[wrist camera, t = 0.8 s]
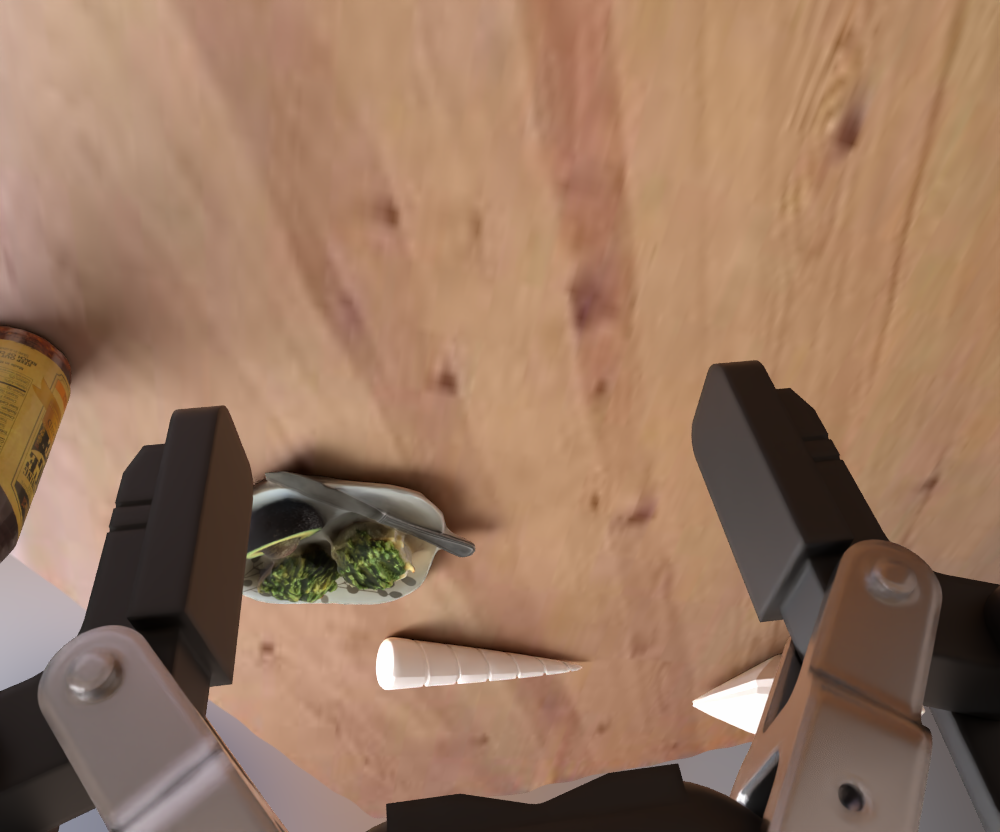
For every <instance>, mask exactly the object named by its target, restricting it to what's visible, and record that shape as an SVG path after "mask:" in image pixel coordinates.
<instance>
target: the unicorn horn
mask: <svg viewBox="0 0 1000 832" xmlns="http://www.w3.org/2000/svg"><path fill="white" fill-rule="evenodd" d="M582 668H583V667H582V666H580V665H577V664H573V663H569V662H564V661H558V660H553V659H548V658H542V657H535V656H528V655H522V654H516V653H509V652H502V651H495V650H487V649H480V648H472V647H465V646H457V645H450V644H442V643H434V642H426V641H418V640H410V639H404V638H397V637H390V638H387V639H385V640H384V641H383V642H382V644H381V645H380V648H379V650H378V655H377V662H376V672H377V679H378V682H379V685H380V686H381V687H382V688H383V689H385V690H393V689H404V688H415V687H422V686H423V684H425V686H438V685H451V684H455V682H456V681H457V682H458V684H462V683H474V682H485V681H486V679H489V681H496V680H507V679H515V678H516V676H518V677H519V678H526V677H534V676H543V673H546V675H551V674H559V673H565V672H569V671H570V670H571V671H576V670H580V669H582Z"/></svg>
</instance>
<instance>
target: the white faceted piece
mask: <svg viewBox="0 0 1000 832" xmlns="http://www.w3.org/2000/svg"><path fill="white" fill-rule="evenodd" d="M781 656H782V654H781V655H776V656H774V657H772V658H770V659H768V660H766V661H764V662H762V663H761V664H759V665H757V666H755V667H753V668H751V669H749V670H748V671H746V672H744V673H742V674H740V675H738V676H736V677H735V678H733V679H731V680H729V681H727V682H725V683H723V684H722V685H720V686H718V687H716V688H714V689H712V690H710V691H709V692H707V693H705V694H704V695H702V696H700V697H699V698H697V699H695V700H694V701H692V702H693V703H694V704H693V706H694V707H696V708H698V709H700V710H701V711H703V712H705V713H707V714H709V715H711V716H713V717H716V718H718V719H720V720H722V721H725V722H727V723H729V724H731V725H734V726H736V727H738V728H740V729H743V730H745V731H748V732H751V733H753V734H756V731H757V728H758V725H759V722H760V719H761V716H762V713H763V710H764V707H765V704H766V701H767V698H768V695H769V692H770V689H771V686H772V683H773V680H774V677H775V674H776V671H777V668H778V665H779V662H780V659H781ZM924 712H925V710H924V707H923V706H922V712H921V715H922V714H923V713H924Z"/></svg>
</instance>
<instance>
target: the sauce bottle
mask: <svg viewBox="0 0 1000 832" xmlns="http://www.w3.org/2000/svg"><path fill="white" fill-rule="evenodd" d="M70 384H71V368H70V365H69V362H68V360H67V358H66V357H65V356H64V354H63V353H61V352H60V351H59V350H57V349H56V348H55V346H53V345H52V344H51V343H49V342H48V341H47V340H46V339H44V338H41V337H39V336H37V335H35V334H33V333H31V332H28V331H25V330H23V329H17V328H12V327H9V326H0V563H1V562H2V561H3V560H4V559H5V558H6V557H7V556H8V555H9V553H10V552H11V551H12V550H13V549H14V547H15V546H16V544H17V541H18V538H19V536H20V533H21V530H22V527H23V525H24V522H25V519H26V516H27V513H28V511H29V508H30V505H31V502H32V500H33V497H34V495H35V492H36V490H37V486H38V484H39V481H40V478H41V475H42V473H43V470H44V467H45V464H46V462H47V459H48V456H49V453H50V450H51V448H52V445H53V442H54V440H55V437H56V434H57V431H58V428H59V426H60V423H61V420H62V417H63V414H64V412H65V409H66V406H67V403H68V401H69V397H70Z"/></svg>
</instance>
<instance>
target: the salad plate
mask: <svg viewBox="0 0 1000 832" xmlns="http://www.w3.org/2000/svg"><path fill="white" fill-rule="evenodd" d="M265 475H266V480H264V481H261V482H259V483H257V484H255V485H254V486H253V505H252V514H251V522H250V531H249V540H248V549H247V557H246V566H245V575H244V584H243V593H242V594H243V595H245V596H247V597H250V598H252V599H254V600H257V601H262V602H266V603H276V604H302V603H325V604H328V603H338V604H381V603H386V602H390V601H394V600H396V599H399V598H401V597H403V596H405V595H407V594H409V593H411V592H413V591H414V590H416V589H417V588H419V587H420V585H421V584H422V583H423V582H424V580H425V578H426V576H427V574H428V571H429V569H430V567H431V565H432V561H433V559H434V556H435V554H436V553H437V551H438V550H440V549H443V550H445V551H447V552H449V553H451V554H454V555H456V556H458V557H467V556H470V555H472V554H473V553H474V551H475V545H474V544H473V543H472V542H470V541H468V540H467V539H465V538H462V537H460V536H458V535H456V534H454V533H453V532H451V531H450V530H449V529H448V528H447V527H446V523H445V520H444V516H443V513H442V512H441V510H440V509H438V508H437V507H436V505H434V504H433V503H432V502H431V501H429V500H428V499H427V498H426V497H425V496H424V495H423V494H422V493H420V492H418V491H414V490H411V489H408V488H404V487H399V486H395V485H390V484H381V483H369V482H357V481H349V480H340V479H334V478H328V477H323V476H307V475H301V474H297V473H292V472H287V471H280V472H270V473H265Z"/></svg>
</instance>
